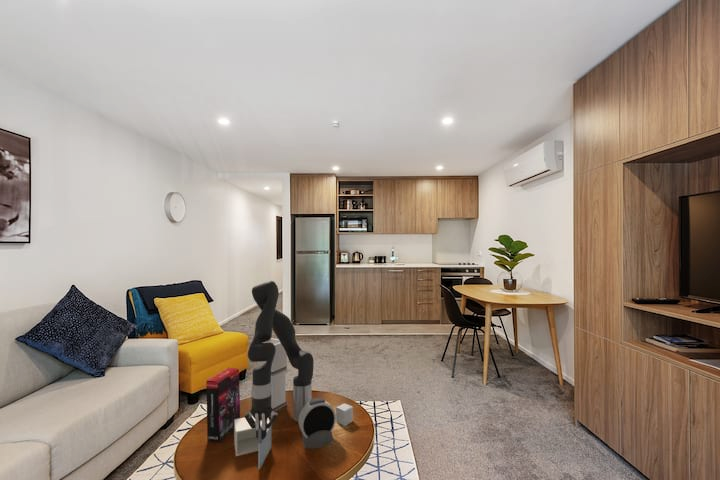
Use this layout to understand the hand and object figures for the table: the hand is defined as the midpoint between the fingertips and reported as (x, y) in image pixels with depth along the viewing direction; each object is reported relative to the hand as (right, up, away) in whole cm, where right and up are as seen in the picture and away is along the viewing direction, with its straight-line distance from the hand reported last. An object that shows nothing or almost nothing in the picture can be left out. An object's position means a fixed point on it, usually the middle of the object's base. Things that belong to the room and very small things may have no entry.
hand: (261, 438), depth 130 cm
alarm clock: (+20, -11, +17) cm, 29 cm away
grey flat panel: (0, -11, +4) cm, 11 cm away
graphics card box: (-25, -12, +24) cm, 36 cm away
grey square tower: (-9, -13, +50) cm, 52 cm away
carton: (-8, -11, +14) cm, 20 cm away
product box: (+32, -12, +33) cm, 47 cm away
